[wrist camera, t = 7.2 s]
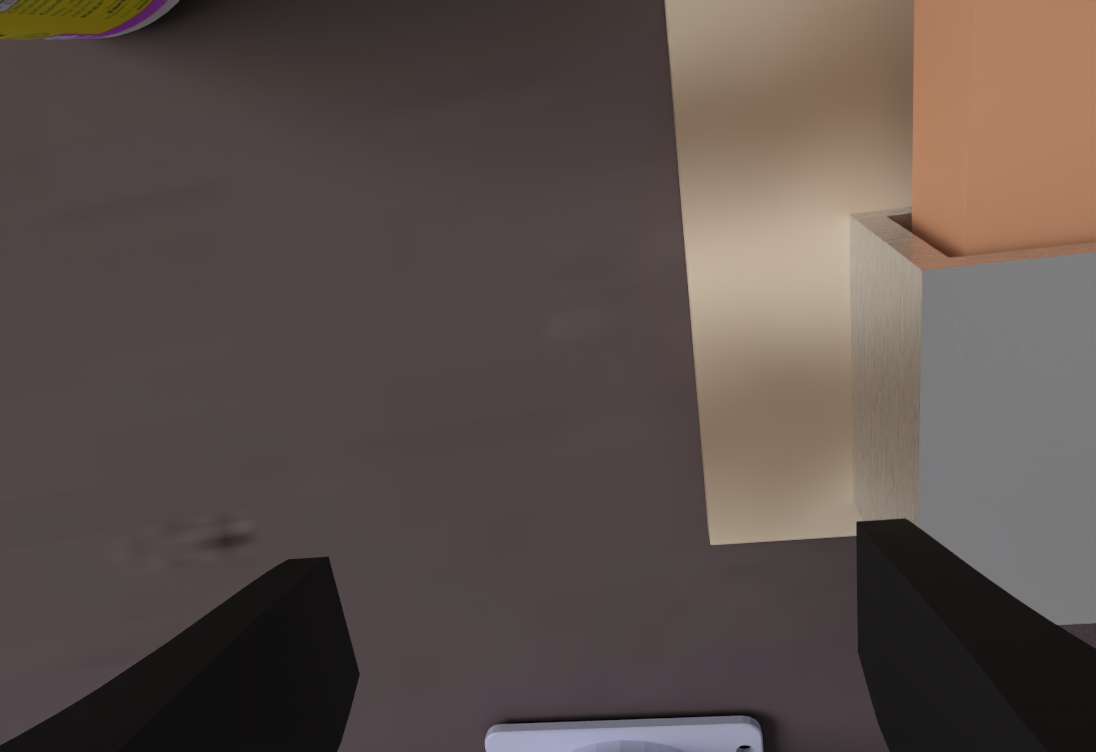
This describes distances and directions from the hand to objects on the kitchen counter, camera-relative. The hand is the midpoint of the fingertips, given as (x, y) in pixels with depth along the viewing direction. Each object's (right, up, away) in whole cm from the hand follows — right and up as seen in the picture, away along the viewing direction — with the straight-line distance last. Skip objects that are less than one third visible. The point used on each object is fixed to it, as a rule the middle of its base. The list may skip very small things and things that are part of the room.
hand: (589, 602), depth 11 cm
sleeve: (+9, +4, +8) cm, 12 cm away
